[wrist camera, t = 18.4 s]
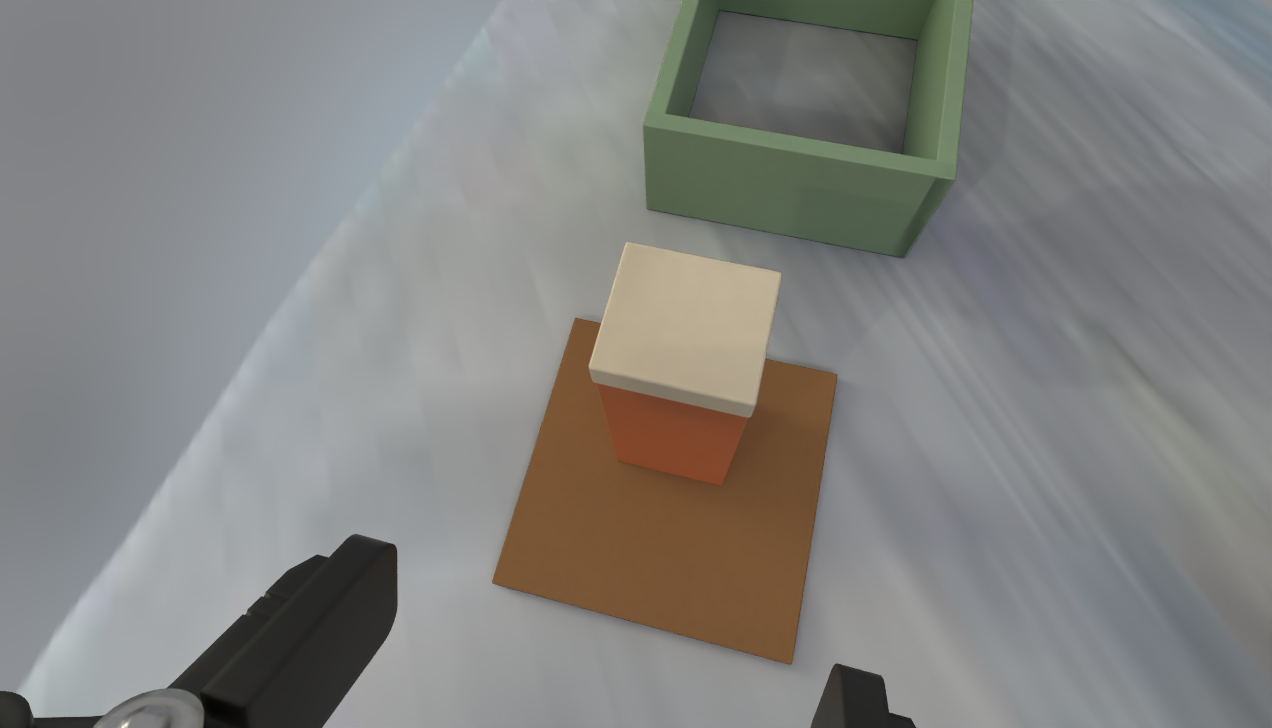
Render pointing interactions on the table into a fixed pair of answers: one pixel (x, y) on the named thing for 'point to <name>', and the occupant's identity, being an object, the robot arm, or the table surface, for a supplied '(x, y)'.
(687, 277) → the tea packet
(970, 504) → the table surface
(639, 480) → the cork mat
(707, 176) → the bin
